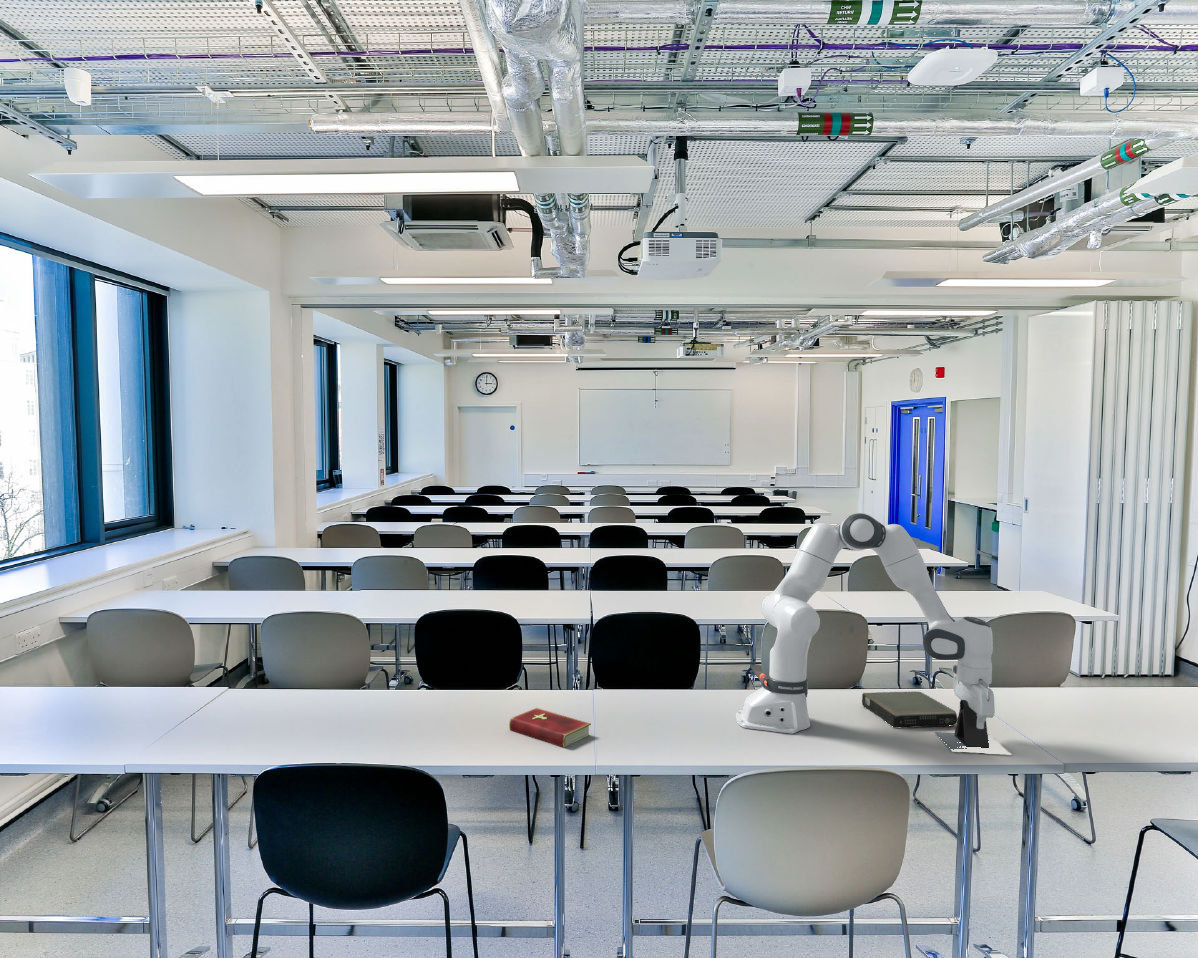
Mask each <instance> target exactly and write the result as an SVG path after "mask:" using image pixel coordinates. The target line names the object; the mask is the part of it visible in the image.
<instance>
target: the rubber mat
mask: <svg viewBox="0 0 1198 958" xmlns="http://www.w3.org/2000/svg"><path fill="white" fill-rule="evenodd" d="M935 733H936V734H937V736H938V737H940V739H942V741H943V742H945V744H947V746H948V747H950V749H953V750H954V749H964V748H962V746H965V745H964V744H963V743H962V742H961V741H960V740H959V739H957V738H956V737H955V735H954V734H955V732H946V731H941V732H940V731H934V734H935ZM937 736H936V737H937ZM938 737H937V738H938ZM940 739H939V740H940ZM942 741H941V742H942ZM988 741H989V740H988ZM943 742H942V743H943ZM957 742H958V743H957ZM959 742H961V743H959ZM945 744H944V745H945ZM947 746H946V747H947ZM960 746H961V748H959V747H960ZM957 747H958V748H957ZM965 749H967V748H965Z"/></svg>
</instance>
